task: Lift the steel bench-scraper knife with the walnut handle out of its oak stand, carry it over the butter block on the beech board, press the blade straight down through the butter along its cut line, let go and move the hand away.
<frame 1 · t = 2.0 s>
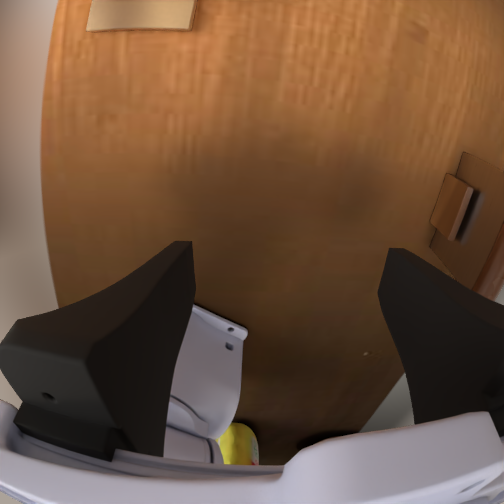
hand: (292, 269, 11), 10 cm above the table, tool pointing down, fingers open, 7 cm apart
stand: (448, 201, 21), on the table
bottle: (236, 435, 36), on the table
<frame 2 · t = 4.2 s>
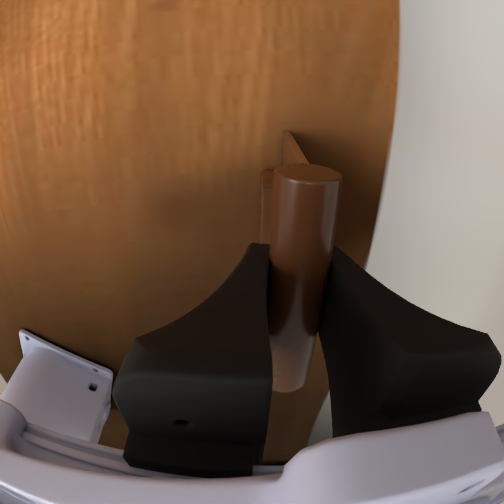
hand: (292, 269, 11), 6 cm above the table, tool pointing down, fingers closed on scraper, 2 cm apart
scraper: (295, 296, 10), point 7 cm above the table, touching gripper
stand: (282, 207, 17), on the table
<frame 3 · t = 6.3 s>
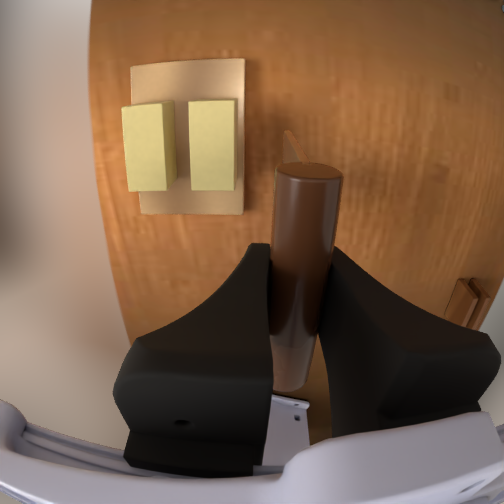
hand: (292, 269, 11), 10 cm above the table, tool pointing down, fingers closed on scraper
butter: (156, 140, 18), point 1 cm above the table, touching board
scraper: (296, 295, 10), point 12 cm above the table, touching gripper
stand: (459, 296, 25), on the table
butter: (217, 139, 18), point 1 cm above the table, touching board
board: (189, 137, 19), on the table
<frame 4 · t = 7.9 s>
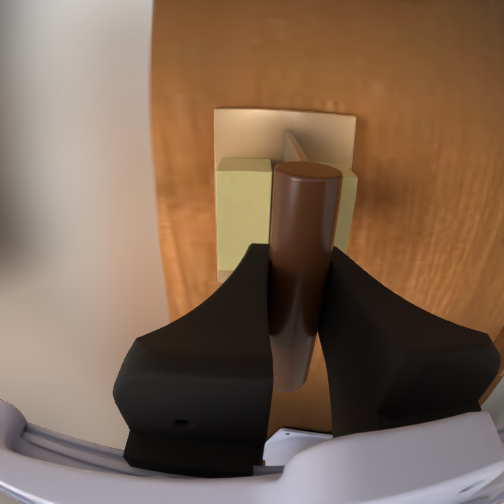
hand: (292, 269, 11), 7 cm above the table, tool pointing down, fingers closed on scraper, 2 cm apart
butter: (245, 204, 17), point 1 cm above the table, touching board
scraper: (295, 294, 10), point 8 cm above the table, touching gripper
stand: (502, 339, 23), on the table
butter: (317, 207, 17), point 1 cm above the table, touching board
board: (280, 200, 17), on the table
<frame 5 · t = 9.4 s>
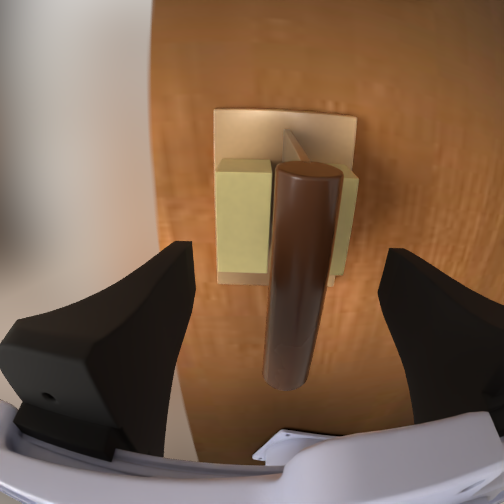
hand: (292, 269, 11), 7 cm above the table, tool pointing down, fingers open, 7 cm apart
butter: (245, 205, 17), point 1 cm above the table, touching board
scraper: (296, 293, 10), point 8 cm above the table, touching board
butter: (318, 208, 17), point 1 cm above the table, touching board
board: (281, 201, 17), on the table
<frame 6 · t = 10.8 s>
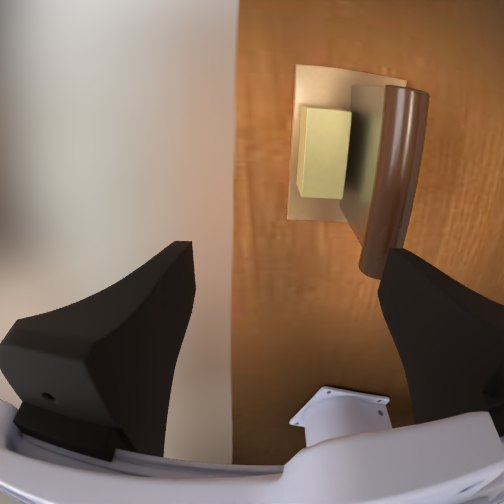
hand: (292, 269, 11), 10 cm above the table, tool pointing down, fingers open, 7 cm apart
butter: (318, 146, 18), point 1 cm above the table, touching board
scraper: (395, 185, 12), point 8 cm above the table, touching board
board: (345, 146, 19), on the table
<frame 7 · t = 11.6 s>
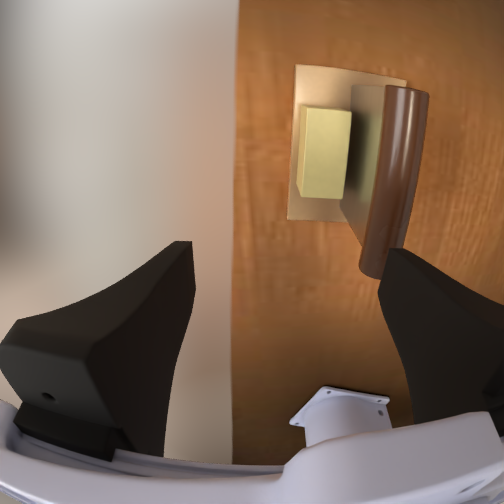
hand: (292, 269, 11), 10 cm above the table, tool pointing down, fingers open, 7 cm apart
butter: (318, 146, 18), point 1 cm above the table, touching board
scraper: (395, 185, 12), point 8 cm above the table, touching board
board: (345, 146, 19), on the table
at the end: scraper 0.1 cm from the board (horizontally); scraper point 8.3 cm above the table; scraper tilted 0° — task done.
